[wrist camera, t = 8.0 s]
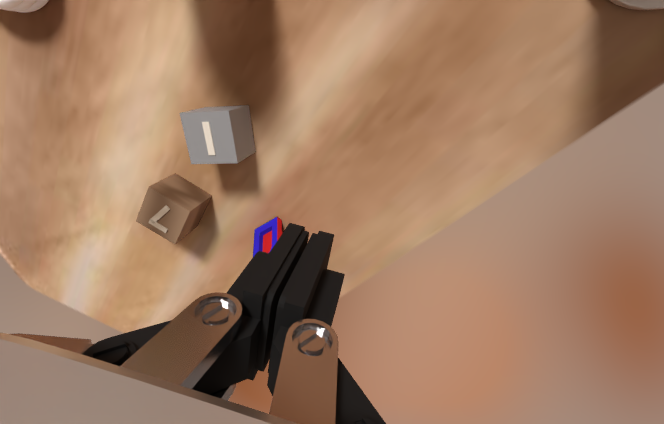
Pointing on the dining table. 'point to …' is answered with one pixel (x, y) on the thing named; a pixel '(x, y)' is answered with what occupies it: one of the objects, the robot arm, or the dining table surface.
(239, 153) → the numeral one cube
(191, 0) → the dining table surface
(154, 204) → the numeral seven cube
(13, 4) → the white short cylinder
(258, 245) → the toy building block
